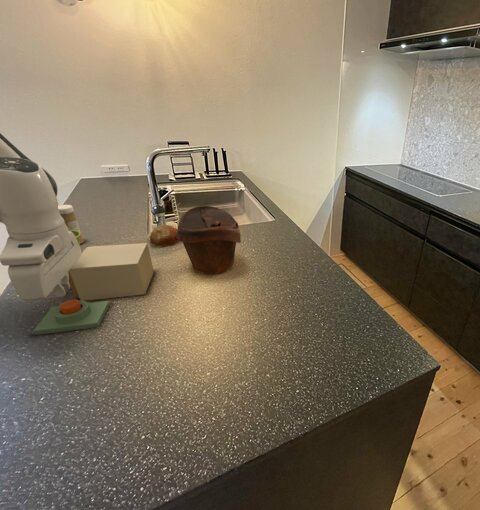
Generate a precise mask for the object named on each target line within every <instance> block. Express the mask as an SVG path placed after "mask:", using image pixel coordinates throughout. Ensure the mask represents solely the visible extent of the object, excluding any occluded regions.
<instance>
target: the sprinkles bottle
mask: <svg viewBox="0 0 480 510" xmlns="http://www.w3.org/2000/svg"><path fill="white" fill-rule="evenodd" d="M58 211H59V213H60V215H61V216H62V218H63V219H64V221H65V224H66V226H67V227H68V230H75V231H79V232H80V234H81V235H80V240H79V242H80V245H81V244H83V243H84V241H85V240H84V238H83V235H82V233H81V229H80V225H79V223H78V220H77V217H76V214H75V209H74V207H73V206H72V204H61V205H58Z"/></svg>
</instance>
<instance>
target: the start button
mask: <svg viewBox="0 0 480 510" xmlns="http://www.w3.org/2000/svg"><path fill="white" fill-rule="evenodd" d="M79 301H80V300H78V299H70V300H67V301H64V302H62V303H61V304H60V305H59V306H60V309H61V311H62V313H63V314H71V313H74V312H77V311H79V310H80V309H81V305H80V302H79Z"/></svg>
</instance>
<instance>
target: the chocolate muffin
mask: <svg viewBox="0 0 480 510" xmlns="http://www.w3.org/2000/svg"><path fill="white" fill-rule="evenodd" d="M176 229H177V239H178V240H179V242H181V243H182V244H183V247H184V249H185V252H186V254H187V257H188V258H189V261H190V263H191V266H192V269H193V270H194V271H196V272H198V273H201V274H207V275H215V274H220V273H223V272H225V271H228V270H229V269H231V268H232V266H233V265H234V262H235V255H236V246H237V243H238V244H242V238H241V232H240V227H239V223H238V221H237V220H236V219H235V218H234V217H233V216H232V215H231V214H230V213H228V212H227V211H225V210H224V209H222V208H219V207H216V206H211V205H198V206H195V207H192V208H190V209H188V210H187V211H186V212H185V213H184V214H183V215H182V216H181V217H180V218H179V221H178V225H177V228H176Z"/></svg>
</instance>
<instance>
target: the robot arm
mask: <svg viewBox="0 0 480 510" xmlns="http://www.w3.org/2000/svg"><path fill="white" fill-rule="evenodd" d="M57 196H58V185H57V182H56V180H55V179H54V177H53V176H52V175H51V174H50V173H49V172H48V171H47V170H46V169H44V168H43V167H41V165H39V164H38V162H37V163H36V162H35V161H33V160H32V159H30V158H29V157H27V155H25V154H24V153H23V152H22V151H21V150H20V149H19V148H17V147H16V146H15V145H14V144H13V143H12V142H11V141H9V139H8V138H7V137H5V136H4V135H3V134H2V133H1V132H0V224H3V225H4V226H5V228H6V232H7V234H8V237H7V239H6V243H5V246H4V247H3V249H2V251H1V253H0V264H1V265H2V266H7V267H8V268H7V274H8V278H9V280H10V282H11V284H12V286H13V289H14V290H15V292H16V294H17V295H18V296H19V298H20V299H22V300H24V301H38V300H44V299H46V298H48V297H49V295H50V294H51V293H52V292H53V293H54V296H55V297H58V298H59V297H64V296H66V295H67V293H68V292H69V291H70V289H71V286H70V284H69V273H68V271H69V270H70V269H71V268H72V266H73V265H74V264H75V263H76V262H77V261H78V259H79V258H80V257H81V252H82V249H81V245H80V246H79V243H78V241H77V239H76V237H75V235H74V233H73V232H71V231H69V230H68V227H67V226H66V224H65V221H64V219H63V218H62V216H61V215H60V213H59V211H58V206H59V201H58V198H57Z"/></svg>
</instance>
